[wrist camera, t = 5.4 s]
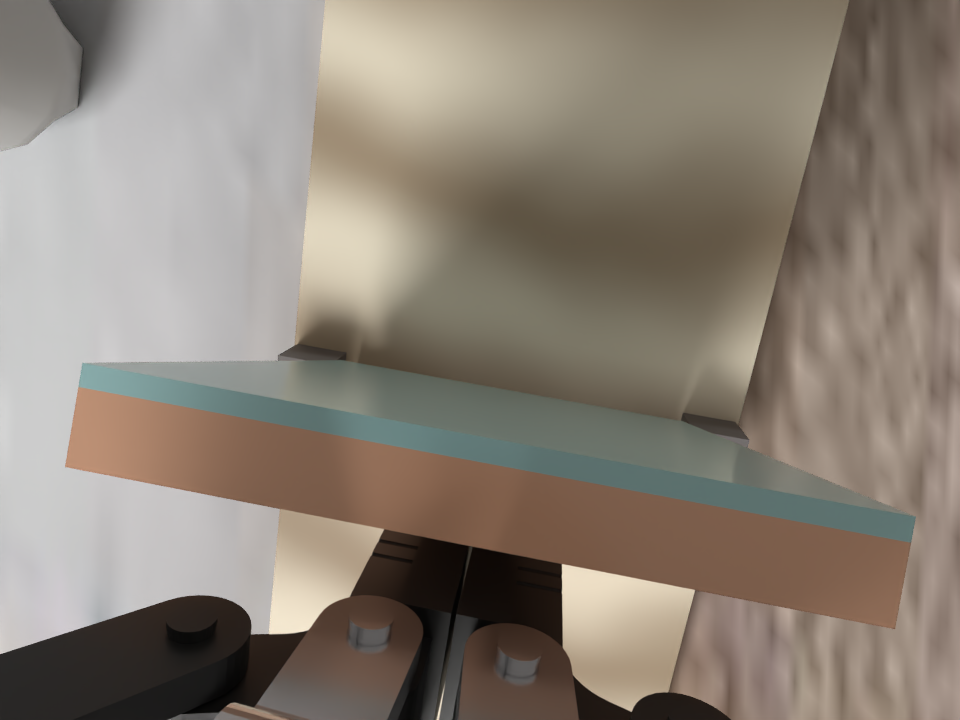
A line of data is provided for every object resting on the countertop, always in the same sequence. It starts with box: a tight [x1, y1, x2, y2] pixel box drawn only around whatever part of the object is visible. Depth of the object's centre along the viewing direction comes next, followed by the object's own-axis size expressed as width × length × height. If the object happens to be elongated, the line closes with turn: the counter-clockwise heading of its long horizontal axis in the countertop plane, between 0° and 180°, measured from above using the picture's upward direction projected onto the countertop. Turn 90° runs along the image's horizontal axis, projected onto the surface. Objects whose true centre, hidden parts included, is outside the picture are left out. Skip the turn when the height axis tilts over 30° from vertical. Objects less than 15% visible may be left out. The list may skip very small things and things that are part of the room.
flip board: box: [269, 0, 849, 720], centre depth 22 cm, size 26×14×3 cm, turn 171°
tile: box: [65, 360, 916, 629], centre depth 15 cm, size 13×10×1 cm
